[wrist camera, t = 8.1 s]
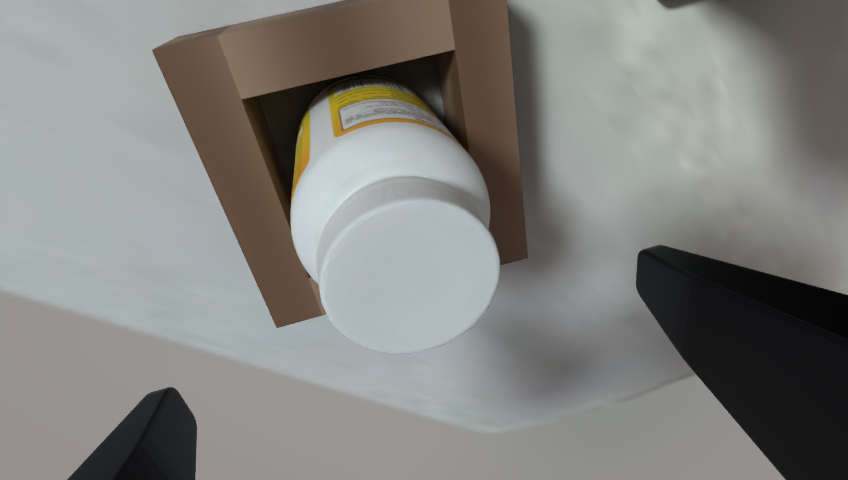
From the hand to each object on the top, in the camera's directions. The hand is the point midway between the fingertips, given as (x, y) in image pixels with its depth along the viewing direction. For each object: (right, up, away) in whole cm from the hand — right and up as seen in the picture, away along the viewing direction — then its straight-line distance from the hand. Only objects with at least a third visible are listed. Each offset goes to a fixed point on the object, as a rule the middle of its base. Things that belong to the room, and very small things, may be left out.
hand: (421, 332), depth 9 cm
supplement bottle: (-2, +5, +10) cm, 11 cm away
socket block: (-2, +5, +9) cm, 11 cm away
